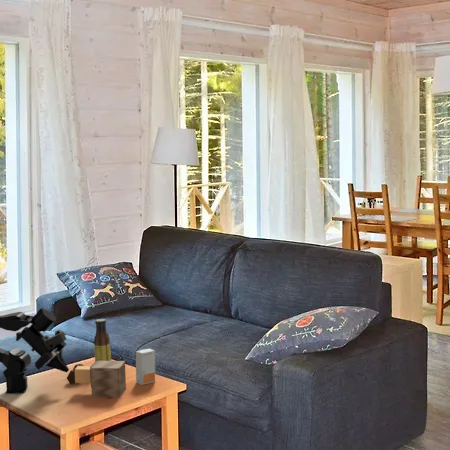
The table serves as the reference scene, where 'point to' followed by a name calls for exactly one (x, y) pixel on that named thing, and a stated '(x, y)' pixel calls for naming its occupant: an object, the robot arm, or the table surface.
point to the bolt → (73, 375)
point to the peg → (82, 374)
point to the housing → (108, 378)
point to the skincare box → (145, 366)
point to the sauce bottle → (102, 342)
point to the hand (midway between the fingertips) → (68, 371)
